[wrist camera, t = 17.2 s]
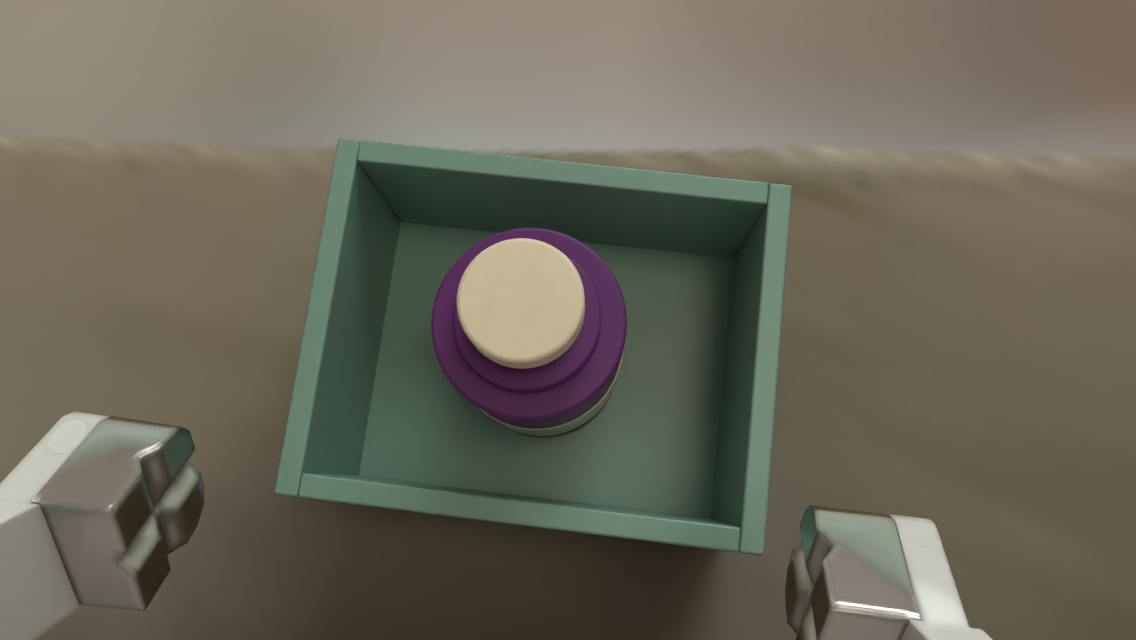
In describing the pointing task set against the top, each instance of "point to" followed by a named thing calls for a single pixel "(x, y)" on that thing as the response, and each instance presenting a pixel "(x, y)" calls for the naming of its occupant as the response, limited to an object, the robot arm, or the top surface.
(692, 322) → the bin
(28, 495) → the robot arm
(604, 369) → the grape juice bottle
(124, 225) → the top surface
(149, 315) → the top surface
